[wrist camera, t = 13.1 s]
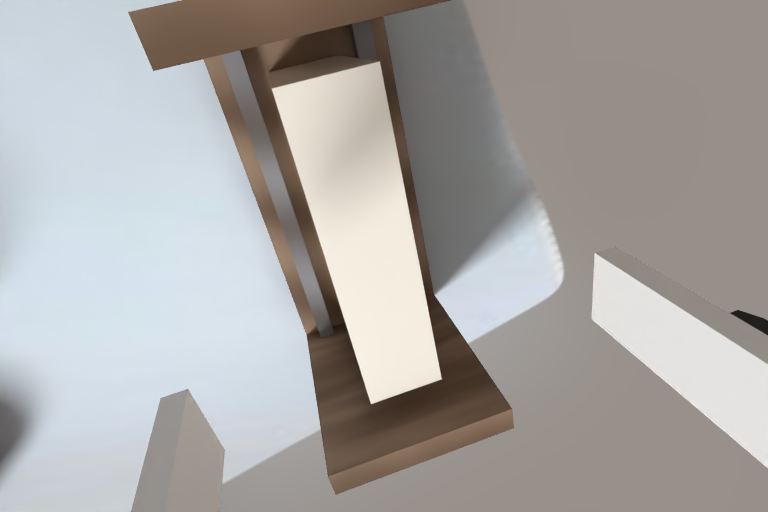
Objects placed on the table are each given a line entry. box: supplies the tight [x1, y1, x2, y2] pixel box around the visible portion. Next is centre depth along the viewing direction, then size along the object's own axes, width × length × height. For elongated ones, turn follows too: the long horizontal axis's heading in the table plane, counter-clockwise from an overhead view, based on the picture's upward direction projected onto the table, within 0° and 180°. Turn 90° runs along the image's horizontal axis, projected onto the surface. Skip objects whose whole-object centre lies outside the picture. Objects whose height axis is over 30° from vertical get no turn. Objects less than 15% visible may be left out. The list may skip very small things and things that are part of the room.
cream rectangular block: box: [268, 55, 442, 404], centre depth 24 cm, size 16×4×10 cm, turn 12°
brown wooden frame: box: [128, 0, 514, 494], centre depth 23 cm, size 22×10×14 cm, turn 12°
